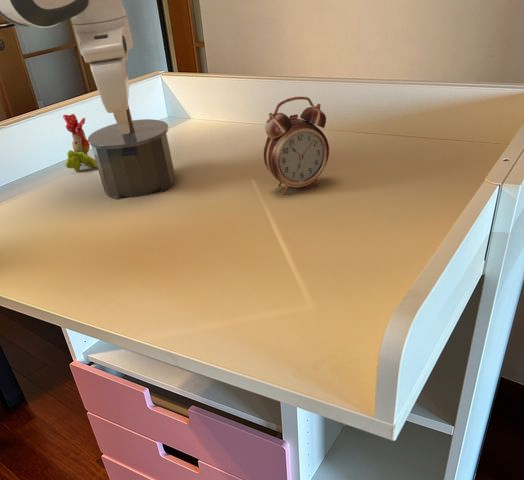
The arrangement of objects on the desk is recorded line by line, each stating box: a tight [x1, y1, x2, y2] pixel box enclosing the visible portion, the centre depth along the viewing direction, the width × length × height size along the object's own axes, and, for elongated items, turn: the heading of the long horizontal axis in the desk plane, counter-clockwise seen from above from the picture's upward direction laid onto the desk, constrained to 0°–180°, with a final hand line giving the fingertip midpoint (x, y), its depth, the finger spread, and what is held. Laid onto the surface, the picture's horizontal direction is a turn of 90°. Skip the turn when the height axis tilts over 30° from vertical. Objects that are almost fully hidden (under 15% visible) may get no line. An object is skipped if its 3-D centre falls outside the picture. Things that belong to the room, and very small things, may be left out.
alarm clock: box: [263, 96, 330, 195], centre depth 95 cm, size 11×5×15 cm, turn 112°
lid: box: [87, 104, 169, 149], centre depth 101 cm, size 15×15×6 cm
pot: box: [90, 133, 177, 201], centre depth 105 cm, size 14×19×10 cm
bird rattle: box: [62, 113, 97, 172], centre depth 118 cm, size 6×11×9 cm
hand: (125, 125), depth 101 cm, fingers open, 8 cm apart
